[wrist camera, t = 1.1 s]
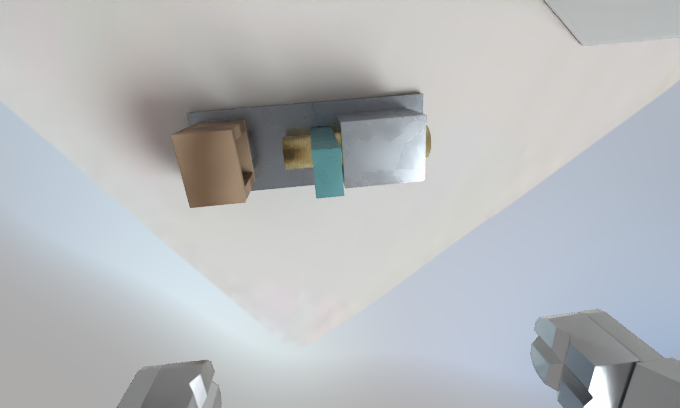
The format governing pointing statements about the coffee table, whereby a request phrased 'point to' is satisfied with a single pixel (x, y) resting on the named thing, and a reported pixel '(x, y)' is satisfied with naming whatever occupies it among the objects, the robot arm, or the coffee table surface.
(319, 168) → the rod
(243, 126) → the socket
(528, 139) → the coffee table surface
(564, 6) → the milk carton
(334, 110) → the grey base plate
